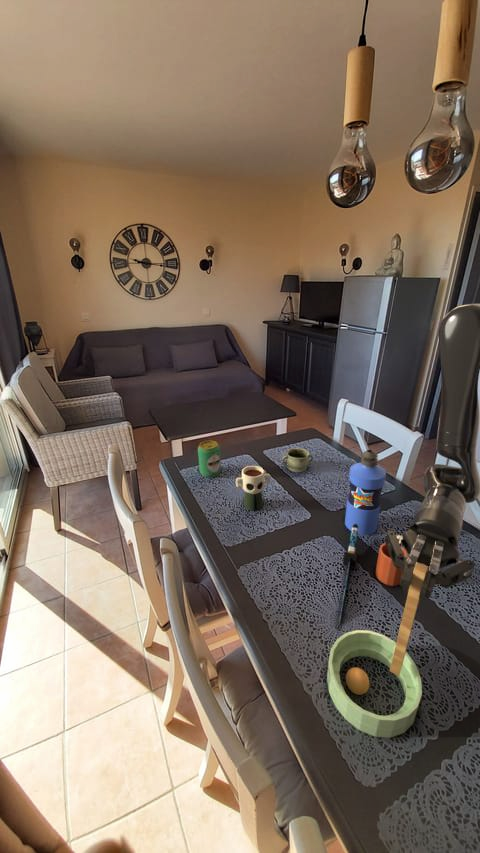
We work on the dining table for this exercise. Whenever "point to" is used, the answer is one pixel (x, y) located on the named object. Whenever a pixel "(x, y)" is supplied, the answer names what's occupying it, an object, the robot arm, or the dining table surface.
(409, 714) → the green faceted ring
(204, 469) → the beverage can
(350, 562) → the knife
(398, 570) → the holder
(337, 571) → the dining table surface
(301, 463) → the vessel
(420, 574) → the stick
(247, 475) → the character mug
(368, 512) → the water bottle
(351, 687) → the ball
